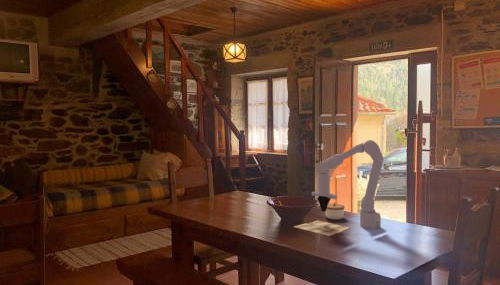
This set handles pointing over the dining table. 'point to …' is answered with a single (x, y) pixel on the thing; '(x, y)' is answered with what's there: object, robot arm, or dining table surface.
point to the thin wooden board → (317, 229)
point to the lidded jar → (334, 211)
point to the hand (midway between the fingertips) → (323, 211)
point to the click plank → (329, 225)
